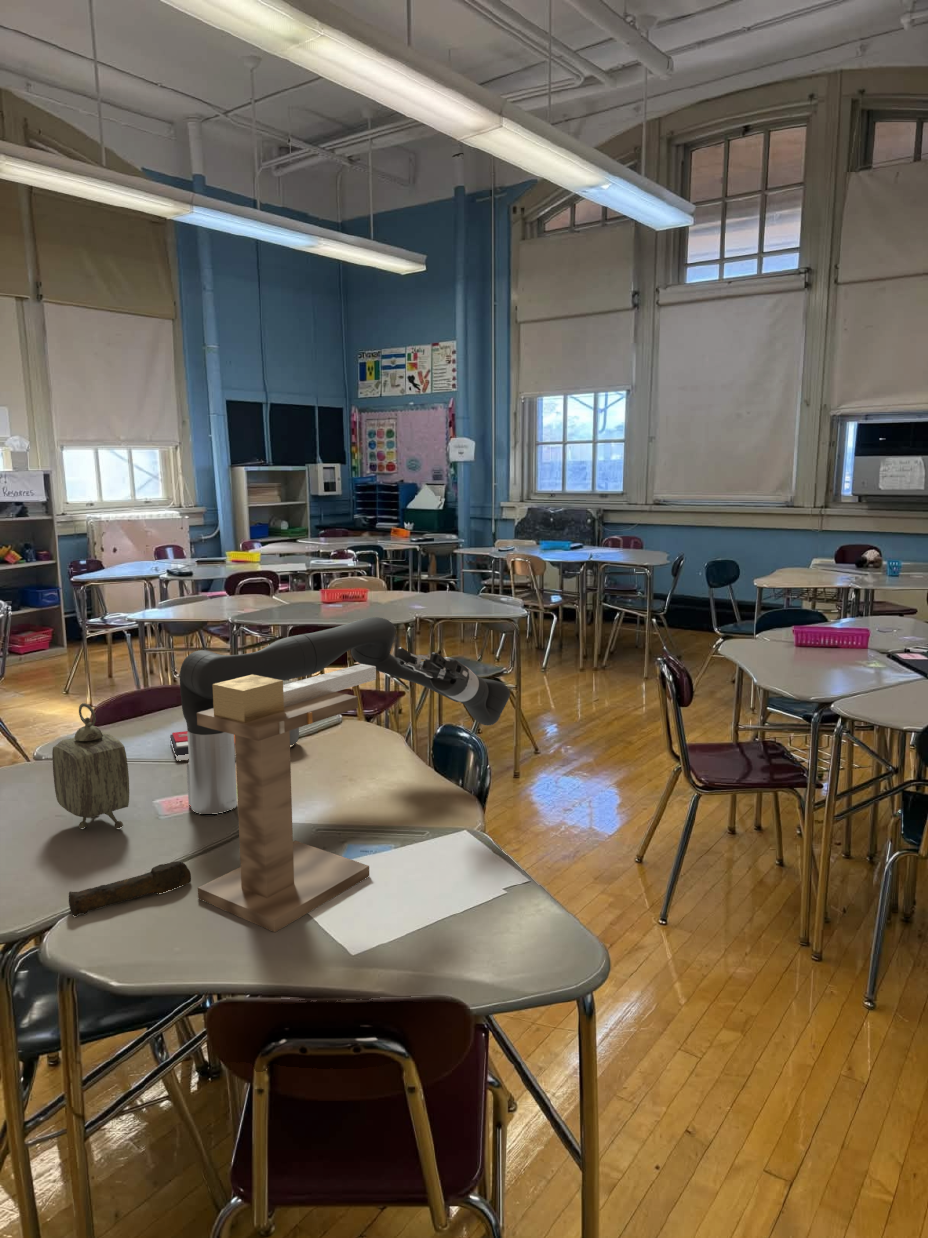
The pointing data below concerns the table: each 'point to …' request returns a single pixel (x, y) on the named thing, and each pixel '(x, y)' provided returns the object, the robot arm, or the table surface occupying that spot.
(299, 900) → the stand
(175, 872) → the hand tool
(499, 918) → the table surface
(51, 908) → the table surface
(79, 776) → the tabletop clock
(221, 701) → the bar
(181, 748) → the red black flat block
